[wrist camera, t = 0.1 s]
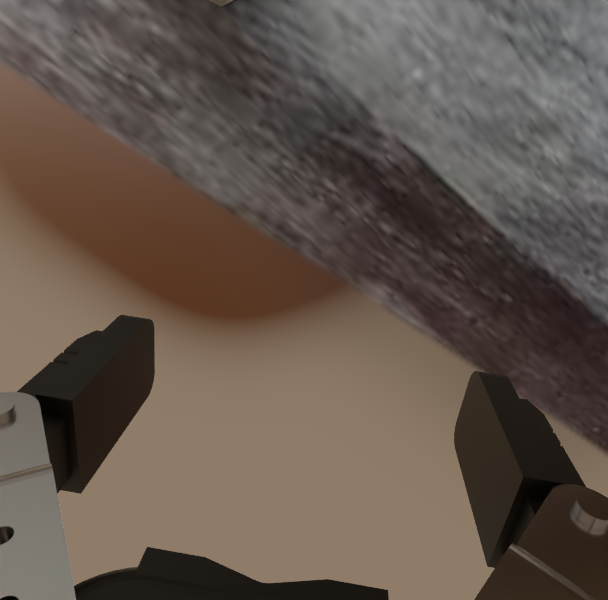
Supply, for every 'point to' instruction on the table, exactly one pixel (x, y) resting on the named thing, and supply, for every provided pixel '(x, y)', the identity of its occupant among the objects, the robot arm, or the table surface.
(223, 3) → the skincare box
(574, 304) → the table surface
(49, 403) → the robot arm
